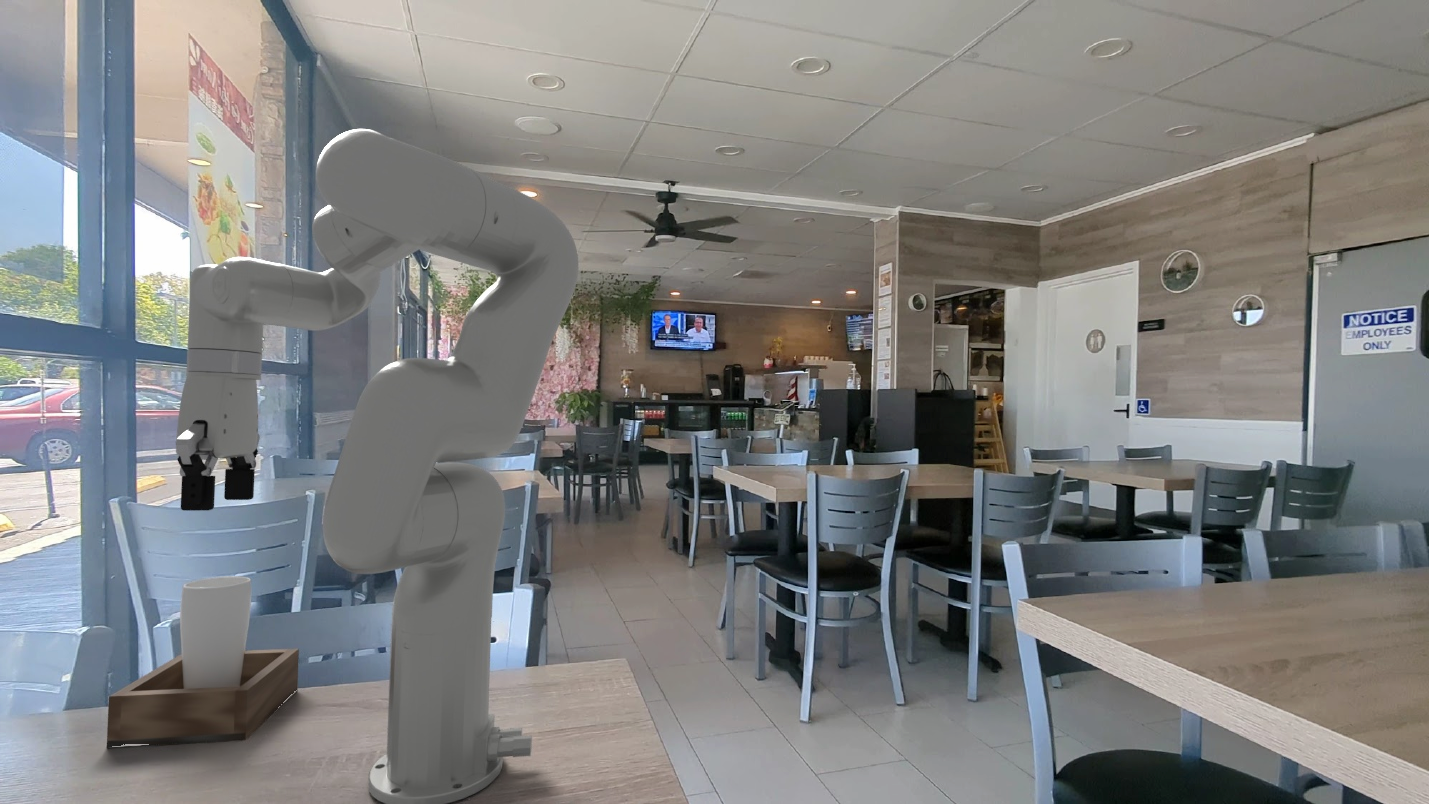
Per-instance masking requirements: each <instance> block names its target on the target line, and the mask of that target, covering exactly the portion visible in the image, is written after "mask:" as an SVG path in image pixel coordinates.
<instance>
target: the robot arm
mask: <svg viewBox="0 0 1429 804" xmlns="http://www.w3.org/2000/svg"><path fill="white" fill-rule="evenodd" d="M315 182H316V186H317V190H318V192H319V194H320V196H321V197H322V199H323V201H325V203H326V204H327V206H325V207H324V208H322V209H320V210H319V211H318V213H316V215H315V217H314V218H313V221H312V225H311V226H312V227H311V228H312V229H311V230H312V231H311V232H312V237H313V242H314V244H315V246H316V248H317V250H318V252H319V254H320V255H321V257H322V258H323V260H324V261H326V263H327V264H328V265H329V266H330V267H331V268H329V269H328V270H325V271H323V272H317V271H314V270H309V269H305V268H302V267H296V266H292V265H287V264H283V263H277V262H271V261H268V260H263V259H257V258H253V257H246V256H245V257H244V256H235V257H230V258H228V259H226V260H224V261H222V262H220V263H219V264H202V265H199V266H196V267H195V268H194V269H193V271H192V272H191V275H190V281H189V282H190V284H189V285H190V286H189V303H188V304H189V308H188V330H187V349H186V350H187V351H186V352H187V353H186V377H185V381H184V385H183V388H182V393H181V398H180V404H179V411H178V419H177V427H176V439H175V453H176V455H177V456H178V457H177V459H176V460H177V461H178V462H177V463H178V464H179V466H180V469H179V475H180V477H181V491H180V509H181V511H191V512H193V511H196V512H197V511H212V510H213V509H215V492H216V475H212V474H213V471H214V469H215V467H216V464H217V462H218V460H220V459H225V460H226V463H227V465H228V467H229V468H224V469H225V470H224V474H225V475H224V495H223V496H224V497H223V498H224V499H225V500H226V501H250V500H253V499H254V496H255V495H254V494H255V490H254V489H255V473H256V472H255V469H256V467H257V460H256V457H257V455H258V453H259V451H258V447H259V443H260V439H261V438H260V437H261V436H260V434H259V402H258V401H259V397H258V385H257V381H261V380H262V369H263V368H262V366H263V365H262V363H263V340H264V339H263V337H264V325H266V326H274V327H275V326H276V327H284V328H292V329H298V330H306V331H313V332H315V331H323V330H330V329H331V328H335V327H337V326H340V325H342V324H344V323H346V322H347V321H349V320H350V319H353V318H354V317H356V316H358V315H360V314H361V313H363V312H364V311H366V310H367V309H368V308H369V307H370V305H371V303H372V302H373V300H374V298H375V296H376V294H377V293H378V290H379V287H380V283H381V272H383V271H385V270H387V269H388V268H390V267H391V266H393V265H395V264H396V263H398V262H400V261H401V260H403V259H405V258H407V257H409V256H410V255H412V254H413V253H416V252H417V251H422V252H425V253H428V254H431V255H433V256H434V255H435V256H437V257H440V258H442V257H443V258H445V259H447V260H451V261H455V262H458V263H462V264H465V265H468V266H471V267H476V268H479V269H483V270H486V271H488V272H492V273H494V274H495V276H496V278H497V279H496V282H494V283H493V284H492V285H491V286H489V287H488V288H487V289H485V290H484V292H483V293H482V294H481V295H480V296H479V297H478V298H477V299H476V300H475V302H474V303H473V305H472V306H471V308H470V309H469V311H468V313H467V314H466V316H465V318H464V320H463V323H462V326H461V330H460V334H459V336H458V338H457V342H456V344H455V346H454V348H453V350H452V353H451V354H450V356H449V357H448V358H446V359H445V360H444V359H438V358H437V359H435V358H428V357H427V358H426V357H425V358H424V357H410V358H409V357H408V358H402V359H398V360H396V361H394V362H391V363H389V364H387V365H385V366H384V367H382V368H381V369H380V370H379V371H377V373H375V375H373V377H372V378H371V379H370V380H369V381H368V383H366V385H365V387H364V389H363V390H362V393H361V394H360V396H359V398H358V400H357V404H356V406H355V409H354V412H353V415H352V418H351V420H350V424H349V428H348V430H347V433H346V437H345V439H344V442H343V446H342V449H341V452H340V455H339V459H338V462H337V465H336V468H335V471H334V474H333V477H332V480H331V483H330V487H329V490H328V493H327V496H326V501H325V504H324V510H323V515H322V535H323V541H324V545H325V548H326V550H327V552H328V555H329V556H330V557H331V559H332V560H333V561H334V563H335V564H337V566H339V567H341V568H342V569H344V570H345V571H347V572H349V573H355V574H360V575H373V574H381V573H387V572H390V571H396V570H399V569H403V568H404V569H403V571H402V574H401V576H400V578H399V581H398V584H397V586H396V589H395V593H394V597H393V602H392V612H391V624H390V625H391V627H390V628H391V629H390V651H389V652H390V656H389V679H388V680H389V683H388V684H389V686H388V707H387V709H388V710H387V711H388V712H387V713H388V714H387V736H386V738H387V741H386V753H385V754H384V755H383V756H382V757H380V758H379V759H378V760H377V761H376V762H375V763H374V764H373V765H371V766H372V767H371V768H370V771H369V773H368V781H367V784H368V785H367V786H368V791H369V793H370V794H371V796H372V797H373V799H376V800H377V801H378V802H381V803H382V804H450V803H451V804H452V803H455V802H456V801H460V800H464V799H466V798H468V797H470V796H473V795H475V794H477V793H478V792H480V791H481V790H483V789H485V788H486V787H488V785H490V784H491V783H492V782H494V780H495V779H496V778H498V776H499V775H500V773H501V770H502V768H503V763H504V761H503V758H506V757H508V758H509V757H512V758H519V757H520V758H521V757H523V758H524V757H531V756H532V750H533V749H532V748H533V747H532V745H533V735H532V734H531V735H523V727H514V728H512V727H511V728H507V729H501V728H500V726H495V716H496V715H495V714H494V713H493V714H492V713H491V714H489V707H490V675H491V674H490V672H491V645H492V642H491V641H492V640H491V639H492V619H493V618H492V617H493V600H494V599H493V598H494V582H495V570H496V564H497V558H498V557H497V556H498V551H499V549H500V544H501V539H502V534H503V529H504V525H505V516H506V501H505V495H504V492H503V489H502V488H501V485H500V484H499V482H498V480H497V479H496V478H495V476H493V475H492V473H490V472H489V471H488V470H486V469H484V468H482V466H481V467H480V466H478V465H475V464H472V463H466V462H462V461H469V460H479V459H481V460H482V459H488V458H493V457H497V456H500V455H503V454H504V453H506V452H507V451H509V450H510V449H511V448H512V446H513V445H514V444H515V442H516V440H517V439H518V436H519V435H520V432H521V430H522V427H523V425H524V422H525V419H526V417H527V414H528V412H529V409H530V406H531V403H532V400H533V397H534V395H535V391H536V389H537V386H538V383H539V381H540V378H541V376H542V372H543V370H544V367H545V364H546V361H547V357H548V353H549V351H550V349H551V345H552V344H553V341H554V339H555V338H554V337H555V336H556V333H557V331H558V329H559V327H560V325H561V322H562V320H563V319H564V316H565V313H566V311H567V310H568V307H569V306H570V303H571V301H572V298H573V295H574V292H575V289H576V286H577V282H578V276H579V254H578V249H577V247H576V243H575V240H574V239H573V236H572V233H571V231H570V230H569V228H568V227H567V226H566V224H565V223H564V222H563V220H561V219H560V217H558V216H557V214H555V212H553V211H552V210H551V209H549V208H548V207H547V206H545V205H544V204H543V203H540V202H539V201H538V200H536V199H534V198H533V197H531V196H528V195H527V194H525V193H523V192H521V191H519V190H517V189H516V188H513V187H510V186H509V185H507V184H504V183H502V182H499V181H496V180H495V179H494V178H491V177H489V176H487V175H485V174H483V173H481V172H478V171H477V170H474V169H472V168H470V167H468V166H466V165H463V164H462V163H459V162H458V161H456V160H453V159H450V158H448V157H445V156H443V155H440V154H439V153H435V152H432V151H429V150H427V149H424V148H420V147H418V146H415V145H413V144H409V143H407V142H404V141H401V140H399V139H398V140H397V139H395V138H393V137H390V136H387V135H384V134H382V133H380V132H379V131H376V130H373V129H366V128H357V129H350V130H348V131H345V132H344V131H343V133H341V134H339V135H337V136H336V137H334V138H333V139H332V140H330V141H329V143H327V145H326V146H325V147H324V148H323V150H322V152H321V154H319V158H318V160H317V163H316V169H315ZM456 461H457V462H456ZM458 461H460V462H458Z"/></svg>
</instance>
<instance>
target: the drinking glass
mask: <svg viewBox="0 0 1429 804" xmlns="http://www.w3.org/2000/svg"><path fill="white" fill-rule="evenodd" d="M251 606H252V579H251V578H250V577H247V576H241V575H240V576H238V575H236V576H235V575H234V576H231V575H228V576H217V577H215V576H214V577H208V578H207V577H206V578H201V579H195V580H192V581H189V582H186V583H184V584H183V585H182V590H181V599H180V609H179V615H180V616H179V617H180V619H179V620H180V621H179V622H180V623H179V626H180V627H179V628H180V630H179V631H180V644H181V646H180V647H181V654H182V667H183V689H193V688H215V687H238V686H240V681H241V674H242V667H243V660H244V653H245V651H246V645H247V638H248V631H249V624H250V618H251Z"/></svg>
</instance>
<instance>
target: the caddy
mask: <svg viewBox="0 0 1429 804" xmlns="http://www.w3.org/2000/svg"><path fill="white" fill-rule="evenodd" d="M299 654H300V648H280V649H279V648H278V649H276V648H275V649H253V650H251V649H250V650H245V653H244V660H243V667H242V674H241V681H240V686H238V687H215V688H193V689H183V667H182V653H181V654H179V655H177V656H175V657H174V658H172V659H170V660H168V661H167V662H165V663H163V664H162V665H160V666H157V668H155V669H153V670H151V671H150V672H148V673H146V674H145V675H143V676H142V677H140V678H138V679H136V680H135V681H133V682H131V683H130V684H128V685H125V687H122V688H121V689H119V690H118V691H116V692H114V693H112V694H110V695H109V696H108V705H107V706H108V709H107V732H106V733H107V734H106V749H109V748H108V747H112V746H121V745H123V744H124V745H125V744H149V745H155V746H167V745H168V746H169V745H170V746H171V745H185V744H188V745H189V744H203V743H218V742H221V743H222V742H223V743H224V742H236V741H237V742H238V741H247V739H249V738H250V737H251V736H252V734H254V733H255V732H256V731H257V730H258V729H259V728H260V727H261V726H262V725H264V724H265V722H266V721H267V720H269V719H270V718H271V717H272V716H273V715H272V714H273V713H274V712H275V711H276V710H277V709H278V707H279V706H281V704H283V702H284V701H285V700H286V699H287V698H288V697H289V696H290V695H291V694H293V693H294V691H296V690H297V691H298V687H299V684H298V683H299V662H300V661H299V660H300V659H299V657H300V656H299ZM283 705H284V704H283ZM281 707H282V706H281ZM278 710H279V709H278ZM278 710H277V711H278ZM277 711H276V712H277ZM276 712H275V713H276ZM275 713H274V714H275ZM271 715H272V716H271ZM270 716H271V717H270Z"/></svg>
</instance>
